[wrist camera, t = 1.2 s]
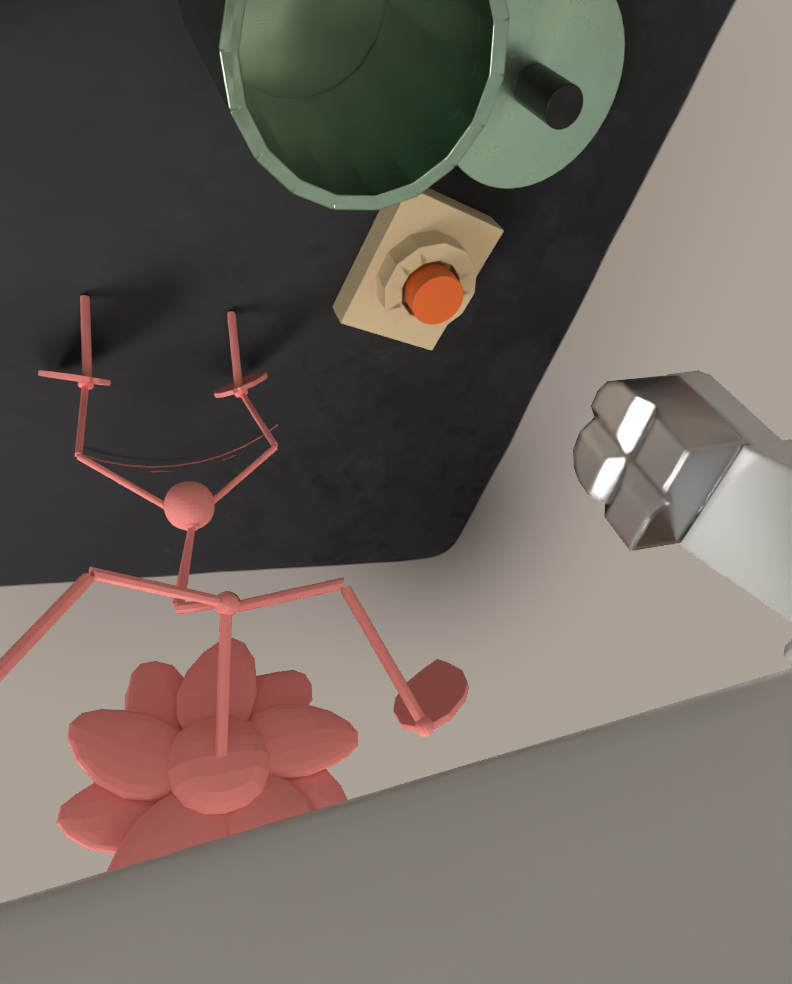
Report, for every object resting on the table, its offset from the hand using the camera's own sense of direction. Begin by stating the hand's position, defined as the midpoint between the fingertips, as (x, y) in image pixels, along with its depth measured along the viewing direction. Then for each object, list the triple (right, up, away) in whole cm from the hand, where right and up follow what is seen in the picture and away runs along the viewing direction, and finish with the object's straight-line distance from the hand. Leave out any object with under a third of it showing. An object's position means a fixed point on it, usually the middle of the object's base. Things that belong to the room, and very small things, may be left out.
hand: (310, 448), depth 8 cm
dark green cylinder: (-4, +25, +27) cm, 37 cm away
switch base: (+2, +16, +40) cm, 43 cm away
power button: (+3, +13, +38) cm, 40 cm away
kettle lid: (+9, +24, +33) cm, 42 cm away
